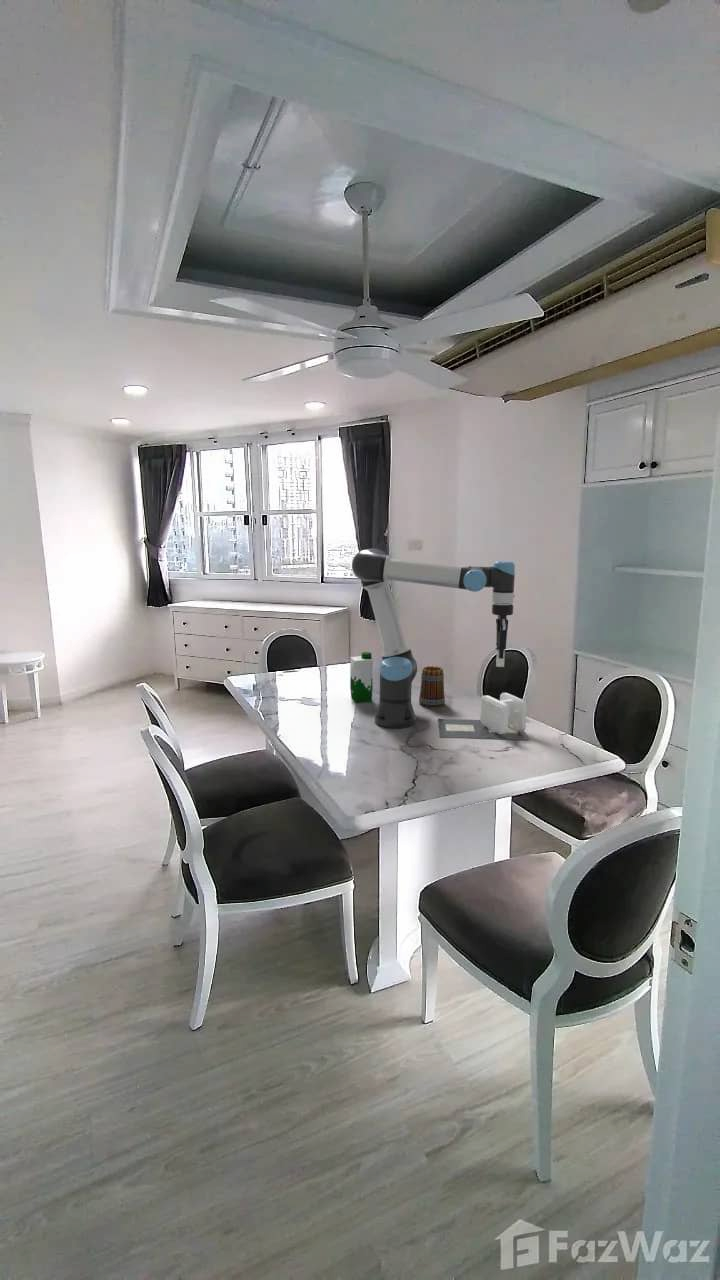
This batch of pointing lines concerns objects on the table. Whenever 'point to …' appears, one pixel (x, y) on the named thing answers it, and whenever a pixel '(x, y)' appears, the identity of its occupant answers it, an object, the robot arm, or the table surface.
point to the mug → (432, 687)
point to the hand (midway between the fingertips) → (500, 666)
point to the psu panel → (475, 730)
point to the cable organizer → (503, 713)
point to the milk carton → (361, 678)
